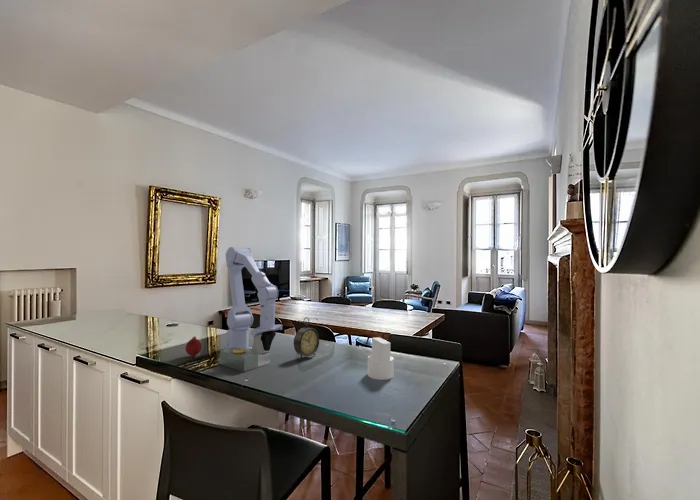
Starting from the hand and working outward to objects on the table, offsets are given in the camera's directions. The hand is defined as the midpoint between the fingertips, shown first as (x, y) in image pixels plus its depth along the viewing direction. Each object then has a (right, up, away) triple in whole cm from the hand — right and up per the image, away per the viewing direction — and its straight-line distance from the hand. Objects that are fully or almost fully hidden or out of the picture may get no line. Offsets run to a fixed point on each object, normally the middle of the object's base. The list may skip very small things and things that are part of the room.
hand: (266, 350), depth 135 cm
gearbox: (-6, -3, -9) cm, 11 cm away
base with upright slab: (+44, -4, -18) cm, 47 cm away
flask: (-3, -3, -4) cm, 6 cm away
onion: (-29, -3, -1) cm, 29 cm away
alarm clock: (+15, -4, +1) cm, 16 cm away
